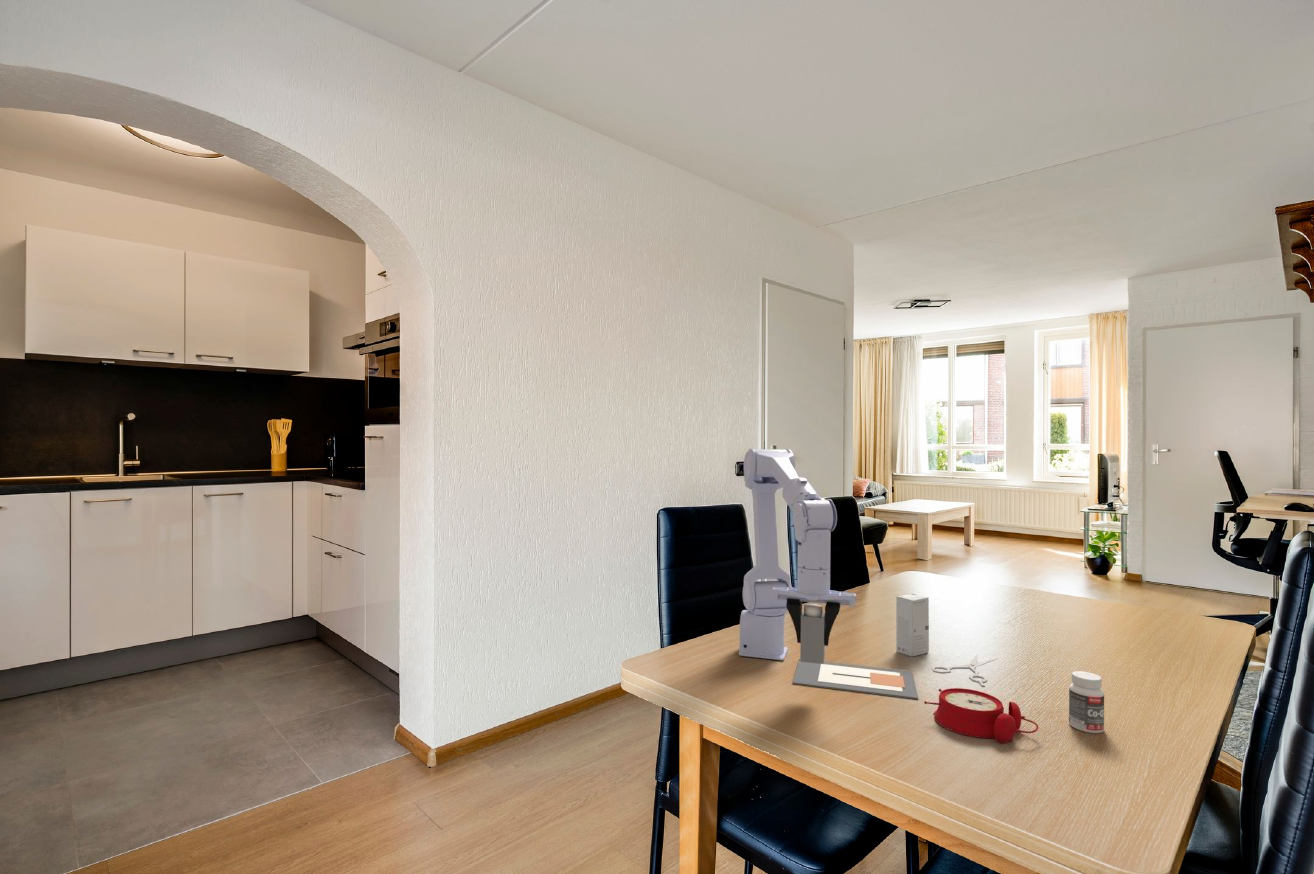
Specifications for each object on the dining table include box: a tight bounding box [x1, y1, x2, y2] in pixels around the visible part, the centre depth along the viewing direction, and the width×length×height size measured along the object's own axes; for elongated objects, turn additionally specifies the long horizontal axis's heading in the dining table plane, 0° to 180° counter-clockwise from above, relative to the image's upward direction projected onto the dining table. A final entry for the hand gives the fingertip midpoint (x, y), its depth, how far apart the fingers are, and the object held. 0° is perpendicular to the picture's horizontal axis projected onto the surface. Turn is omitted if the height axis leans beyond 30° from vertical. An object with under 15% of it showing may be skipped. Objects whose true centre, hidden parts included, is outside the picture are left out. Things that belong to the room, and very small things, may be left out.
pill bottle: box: [1068, 670, 1105, 734], centre depth 104 cm, size 5×5×8 cm
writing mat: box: [792, 658, 919, 700], centre depth 124 cm, size 22×14×1 cm, turn 72°
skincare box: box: [895, 593, 930, 657], centre depth 140 cm, size 6×4×12 cm
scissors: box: [931, 653, 998, 688], centre depth 131 cm, size 11×1×20 cm
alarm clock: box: [924, 687, 1039, 744], centre depth 103 cm, size 11×6×15 cm
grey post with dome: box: [799, 603, 826, 664], centre depth 115 cm, size 4×4×10 cm
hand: (812, 642), depth 115 cm, fingers closed on grey post with dome, 4 cm apart
